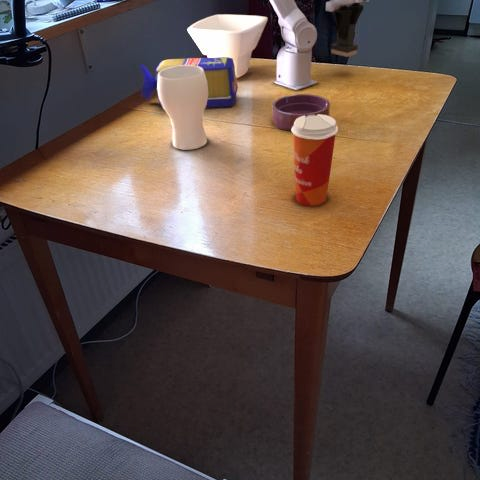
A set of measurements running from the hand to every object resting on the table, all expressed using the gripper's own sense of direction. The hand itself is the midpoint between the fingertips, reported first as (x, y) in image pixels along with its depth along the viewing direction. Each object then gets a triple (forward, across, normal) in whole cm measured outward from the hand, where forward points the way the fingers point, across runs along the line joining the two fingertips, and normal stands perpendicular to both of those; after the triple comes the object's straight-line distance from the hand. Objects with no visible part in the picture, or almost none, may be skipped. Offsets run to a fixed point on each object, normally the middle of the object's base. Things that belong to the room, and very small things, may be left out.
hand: (345, 37), depth 131 cm
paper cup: (+10, -55, -43) cm, 71 cm away
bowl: (+10, -21, +25) cm, 34 cm away
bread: (+10, -42, +15) cm, 46 cm away
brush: (+4, 0, 0) cm, 4 cm away
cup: (+10, -57, -6) cm, 58 cm away
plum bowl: (+10, -31, -15) cm, 36 cm away
